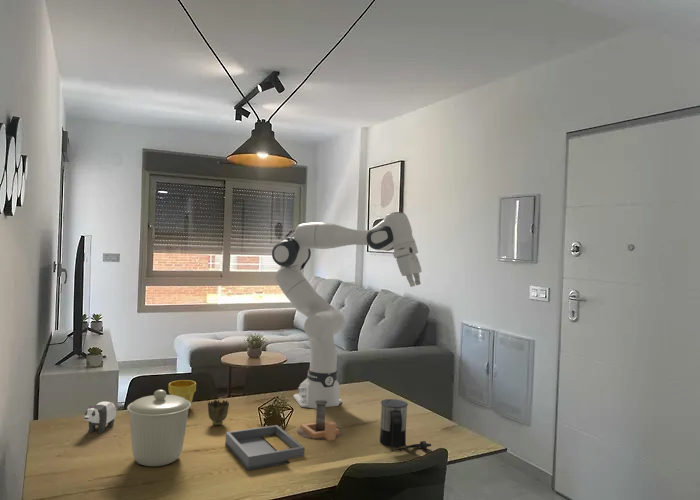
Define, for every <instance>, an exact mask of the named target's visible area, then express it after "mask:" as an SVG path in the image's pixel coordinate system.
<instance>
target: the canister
mask: <svg viewBox="0 0 700 500" xmlns="http://www.w3.org/2000/svg"><path fill="white" fill-rule="evenodd" d="M190 407H192V404H191V403H190V402H189V401H188V400H186V399H184V398H182V397H180V396H175V395H170V394H167V392H166V390H164V389H157V390H155V391H154V392H153V395H147V396H142V397H140V398H137V399H135V400H134V401H133V402H131V403H129V404H128V405H127V407H126V410H127V412H128V414H129V426H130V437H131V439H130V440H131V448H132V455H133V458H134V460H135V462H136V463H138V464H139V465H141V466H146V467H162V466H166V465H169V464H171V463H174V462H175V461H176V460H178V459H179V457H180V456H181V454H182V452H183V446H184V440H185V434H186V429H187V422H188V416H189V408H190ZM190 409H191V408H190Z"/></svg>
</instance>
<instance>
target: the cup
mask: <svg viewBox="0 0 700 500" xmlns="http://www.w3.org/2000/svg"><path fill="white" fill-rule="evenodd" d="M229 405H230V402H228V400H222V401H220V400H219V399H218V400H217V399H214V400H211V401H208V402H207V411H208V412H207V413H208V417H209V418H208V419H210V420H211V421H212V425H213V426H215V427H218V426H219V427H220V426H222V425H223V424H224V420H225V419H226V418H227V416H228V414H229V407H230V406H229Z"/></svg>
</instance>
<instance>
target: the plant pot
mask: <svg viewBox="0 0 700 500" xmlns="http://www.w3.org/2000/svg"><path fill="white" fill-rule="evenodd" d="M196 392H197V383H196V381H194V380H191V379H190V380H189V379H188V380H187V379H180V380H174V381H171V382H169V383H168V393H169V395H175V396H180V397H182V398H184V399H186V400H188V401H189V402H190V403H191V405H192V403H193V398H194V394H195V393H196ZM191 407H192V406H191ZM191 407H190V408H189V409H191ZM189 409H188V410H189Z"/></svg>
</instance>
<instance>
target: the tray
mask: <svg viewBox="0 0 700 500" xmlns="http://www.w3.org/2000/svg"><path fill="white" fill-rule="evenodd" d="M271 435H276V436H277V437H278V438H279V439H281V440H282V441H283V443H286V445H288V446H289V448H287V449H280V450H277V449H276V448H275V447H274V446H273V445H272V444H271V443H270V442H269V441H268V440H266V438H264V437H263V436H271ZM225 446H226V447H227V448H228V450H230V452H231V453H232V454H233V455H234V456H235V457H236V458H237V460H238V461H239V462H240V463H241V464H242V466H243V467H244V468H245V469H246V470H247V471H252V470H258V469H265V468H269V467H270V468H271V467H276V466H281V465H287V464H291V462H290V461H289V460H288V459H294V458H299V457H300V458H301V457H304V456H305V446H303V445H302V444H301V443H300V442H299V441H297V440H296V439H295V438H294V437H293V436H292V435H290V434H289V433H288V432H286V430H284V429H283V428H282V427H280V426H279V425H278V424H275V425H268V426H260V427H252V428H245V429H239V430H231V431H226V432H225Z"/></svg>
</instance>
